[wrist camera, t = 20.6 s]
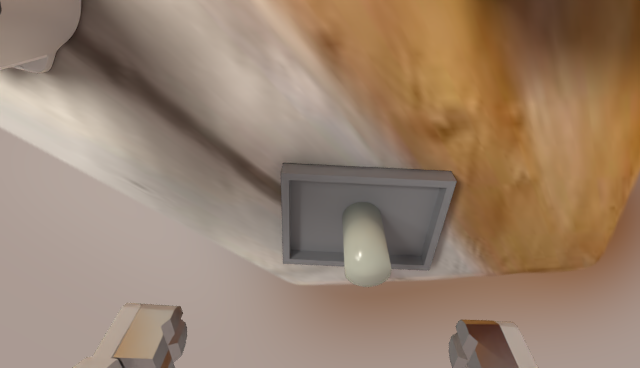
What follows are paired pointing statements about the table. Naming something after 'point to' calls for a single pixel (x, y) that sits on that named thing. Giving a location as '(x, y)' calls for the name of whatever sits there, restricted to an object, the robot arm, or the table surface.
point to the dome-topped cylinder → (365, 245)
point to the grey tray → (362, 186)
